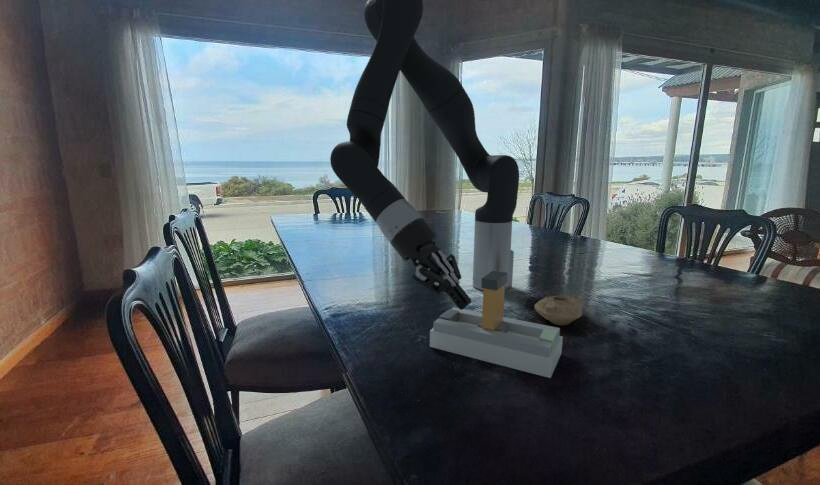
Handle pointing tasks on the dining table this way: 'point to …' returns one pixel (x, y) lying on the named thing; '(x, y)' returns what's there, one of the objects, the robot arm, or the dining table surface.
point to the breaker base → (496, 351)
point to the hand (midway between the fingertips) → (466, 305)
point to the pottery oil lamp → (560, 308)
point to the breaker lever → (493, 301)
